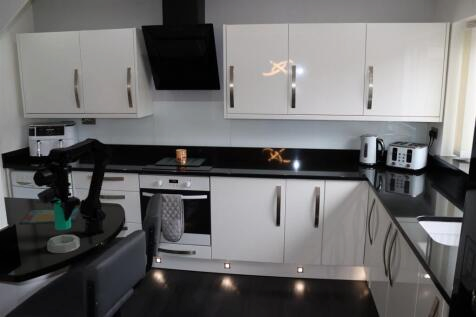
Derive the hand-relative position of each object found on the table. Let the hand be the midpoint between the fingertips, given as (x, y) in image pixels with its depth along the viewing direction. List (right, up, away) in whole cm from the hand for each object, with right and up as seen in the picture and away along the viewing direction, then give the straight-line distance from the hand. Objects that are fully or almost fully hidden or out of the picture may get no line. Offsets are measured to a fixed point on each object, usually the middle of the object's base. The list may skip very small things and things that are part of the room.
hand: (62, 218), depth 157 cm
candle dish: (0, -12, +2) cm, 12 cm away
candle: (0, -4, +1) cm, 4 cm away
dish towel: (-21, -6, +36) cm, 42 cm away
